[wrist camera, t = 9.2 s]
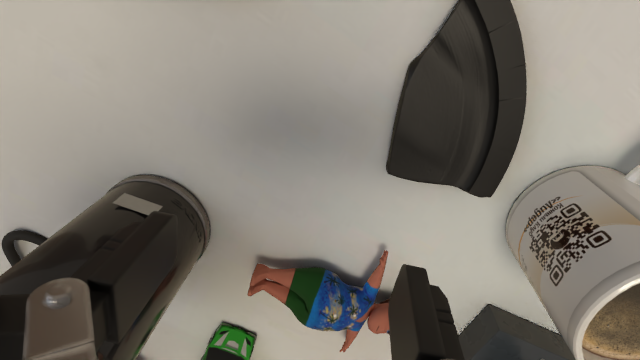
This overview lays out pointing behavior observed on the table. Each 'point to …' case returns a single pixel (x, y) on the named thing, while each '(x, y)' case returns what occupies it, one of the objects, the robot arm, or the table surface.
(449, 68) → the fan shaped piece
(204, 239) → the robot arm
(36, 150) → the table surface
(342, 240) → the table surface
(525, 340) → the dial panel
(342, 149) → the table surface
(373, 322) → the toy character
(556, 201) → the mug
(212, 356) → the toy car
